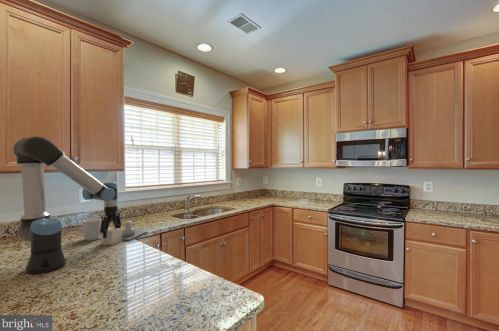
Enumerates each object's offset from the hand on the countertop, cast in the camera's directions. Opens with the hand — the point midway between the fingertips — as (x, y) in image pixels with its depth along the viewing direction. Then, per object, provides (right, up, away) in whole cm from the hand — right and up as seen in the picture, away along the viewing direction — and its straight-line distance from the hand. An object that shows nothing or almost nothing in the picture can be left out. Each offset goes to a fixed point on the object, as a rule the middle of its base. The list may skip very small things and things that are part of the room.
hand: (111, 240), depth 160 cm
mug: (-16, -2, +8) cm, 18 cm away
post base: (+5, -1, +14) cm, 15 cm away
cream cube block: (0, -1, 0) cm, 1 cm away
